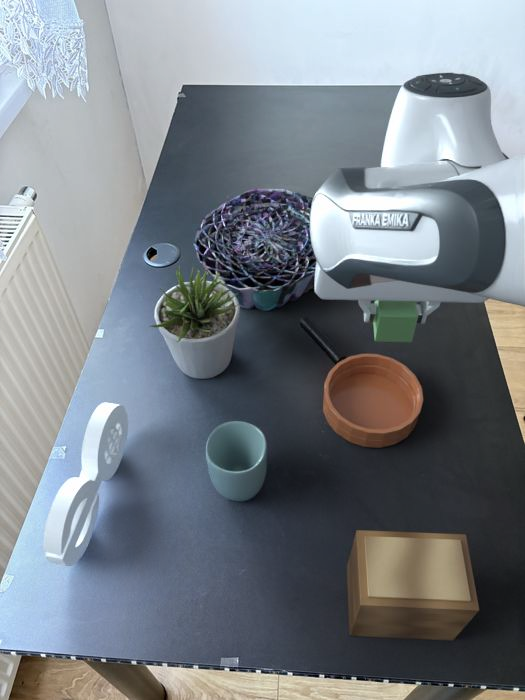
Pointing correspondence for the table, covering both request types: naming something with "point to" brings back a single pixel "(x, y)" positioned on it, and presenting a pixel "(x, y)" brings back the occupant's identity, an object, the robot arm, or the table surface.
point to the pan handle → (322, 340)
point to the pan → (372, 400)
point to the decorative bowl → (260, 247)
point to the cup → (237, 460)
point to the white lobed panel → (86, 486)
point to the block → (395, 321)
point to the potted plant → (199, 325)
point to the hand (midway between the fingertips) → (394, 319)
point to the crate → (410, 585)
